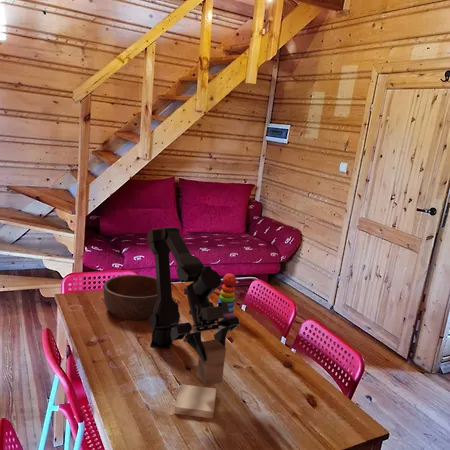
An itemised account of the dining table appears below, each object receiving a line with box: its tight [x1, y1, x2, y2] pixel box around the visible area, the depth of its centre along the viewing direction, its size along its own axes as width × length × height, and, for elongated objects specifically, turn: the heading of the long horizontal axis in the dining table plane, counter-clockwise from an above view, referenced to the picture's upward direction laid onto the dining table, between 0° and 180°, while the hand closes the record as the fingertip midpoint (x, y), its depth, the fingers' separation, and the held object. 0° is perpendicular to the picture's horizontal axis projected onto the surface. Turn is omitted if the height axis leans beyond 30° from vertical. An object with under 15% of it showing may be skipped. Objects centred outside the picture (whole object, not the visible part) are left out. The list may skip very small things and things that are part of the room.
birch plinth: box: [173, 384, 217, 419], centre depth 114 cm, size 10×10×2 cm
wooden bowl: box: [102, 274, 158, 321], centre depth 167 cm, size 25×25×10 cm
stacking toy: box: [216, 273, 237, 322], centre depth 166 cm, size 8×8×19 cm
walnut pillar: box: [196, 338, 227, 387], centre depth 114 cm, size 5×5×10 cm
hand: (214, 359), depth 112 cm, fingers closed on walnut pillar, 5 cm apart
